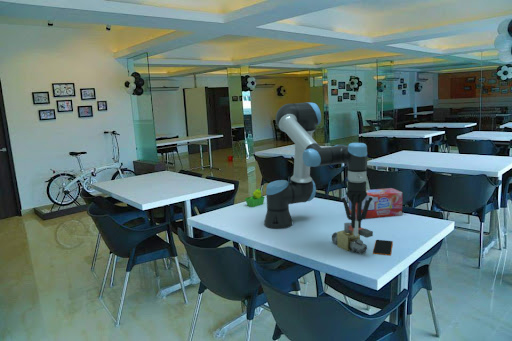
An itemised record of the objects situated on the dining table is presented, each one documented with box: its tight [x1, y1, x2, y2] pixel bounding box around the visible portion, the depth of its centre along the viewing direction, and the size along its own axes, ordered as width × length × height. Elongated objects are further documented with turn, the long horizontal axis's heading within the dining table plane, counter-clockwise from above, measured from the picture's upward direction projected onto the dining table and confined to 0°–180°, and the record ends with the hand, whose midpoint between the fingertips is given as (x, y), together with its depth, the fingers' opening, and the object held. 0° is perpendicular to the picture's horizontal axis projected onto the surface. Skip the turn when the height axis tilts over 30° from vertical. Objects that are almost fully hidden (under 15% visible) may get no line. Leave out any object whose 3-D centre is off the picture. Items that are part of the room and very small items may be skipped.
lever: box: [343, 222, 374, 239], centre depth 171 cm, size 4×15×4 cm, turn 27°
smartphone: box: [372, 239, 394, 256], centre depth 175 cm, size 8×17×1 cm, turn 159°
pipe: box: [331, 229, 368, 255], centre depth 177 cm, size 18×7×8 cm, turn 29°
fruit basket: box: [244, 188, 266, 208], centre depth 252 cm, size 11×9×11 cm
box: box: [347, 187, 403, 220], centre depth 222 cm, size 27×13×14 cm, turn 98°
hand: (355, 234), depth 168 cm, fingers closed
